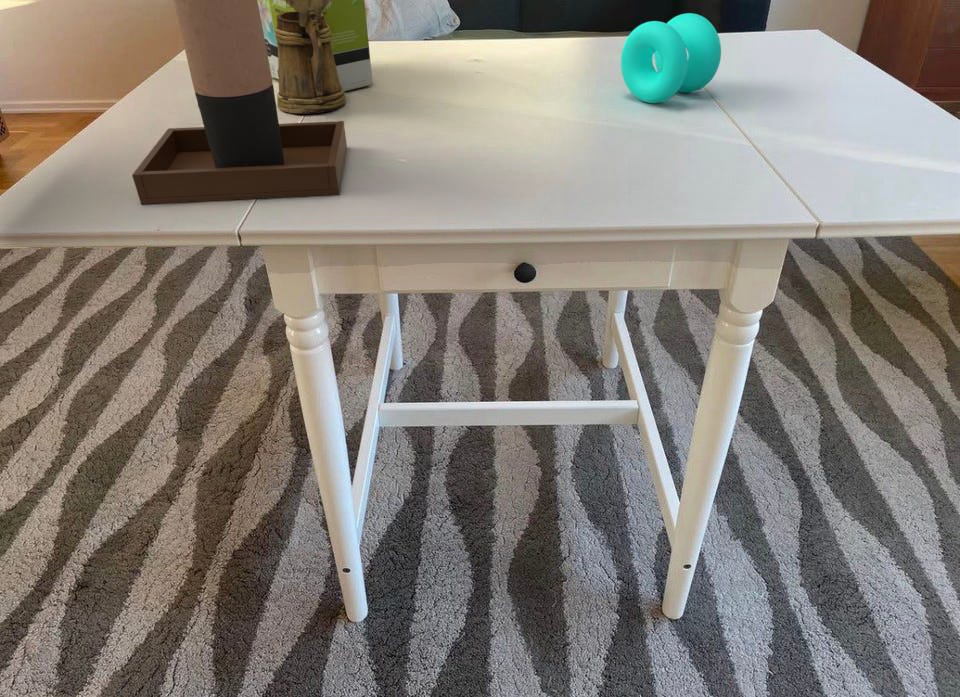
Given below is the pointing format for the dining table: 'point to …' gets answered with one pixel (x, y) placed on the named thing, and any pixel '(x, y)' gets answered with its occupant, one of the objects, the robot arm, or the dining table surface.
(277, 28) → the wooden mug
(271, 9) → the tea box
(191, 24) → the travel mug
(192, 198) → the serving tray
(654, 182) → the dining table surface
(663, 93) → the donuts
